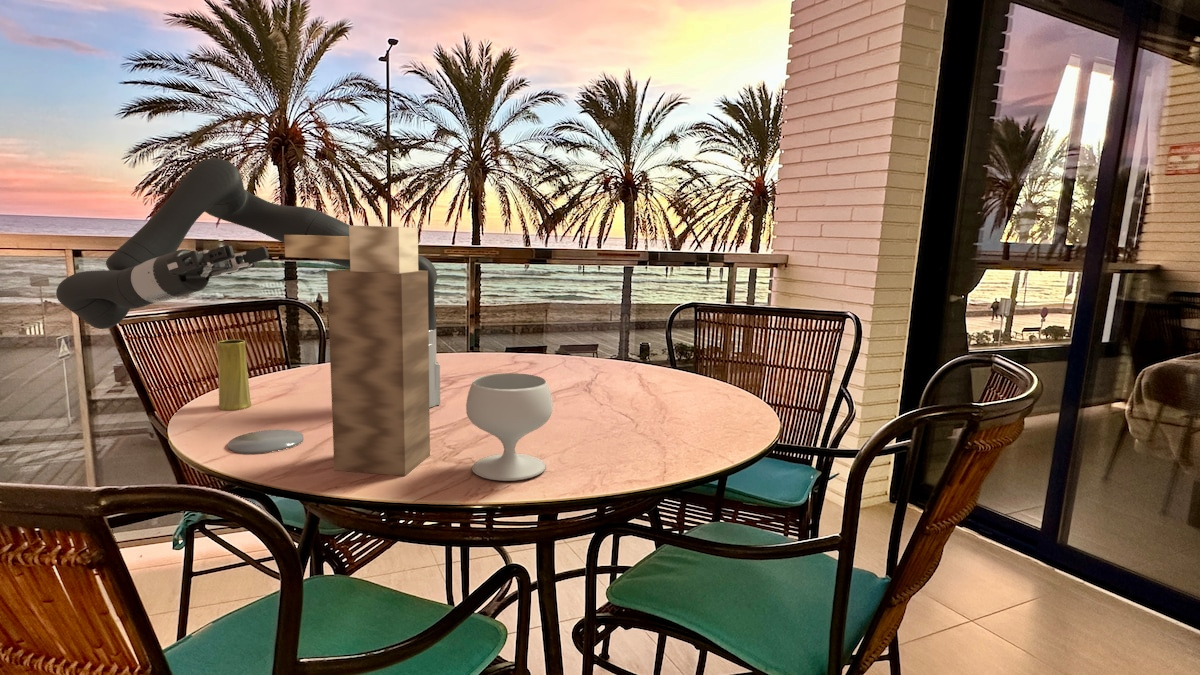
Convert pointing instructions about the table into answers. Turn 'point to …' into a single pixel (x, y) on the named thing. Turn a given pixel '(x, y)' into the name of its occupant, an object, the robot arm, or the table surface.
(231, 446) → the grey flat disc
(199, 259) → the robot arm
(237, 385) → the vase
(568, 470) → the table surface
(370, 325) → the herringbone wood pillar
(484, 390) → the chalice
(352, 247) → the mallet
